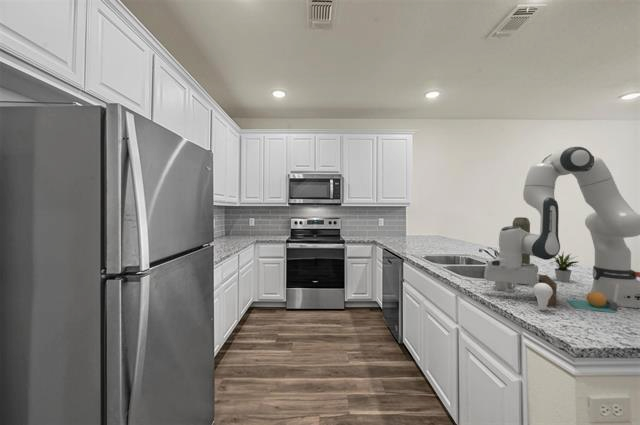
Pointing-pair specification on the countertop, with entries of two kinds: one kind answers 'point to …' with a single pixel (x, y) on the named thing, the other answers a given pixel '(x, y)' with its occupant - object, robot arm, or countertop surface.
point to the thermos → (525, 226)
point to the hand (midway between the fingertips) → (509, 292)
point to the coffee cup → (502, 285)
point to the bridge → (553, 285)
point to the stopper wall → (611, 305)
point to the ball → (596, 299)
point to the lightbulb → (542, 294)
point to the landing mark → (588, 306)
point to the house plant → (563, 268)
